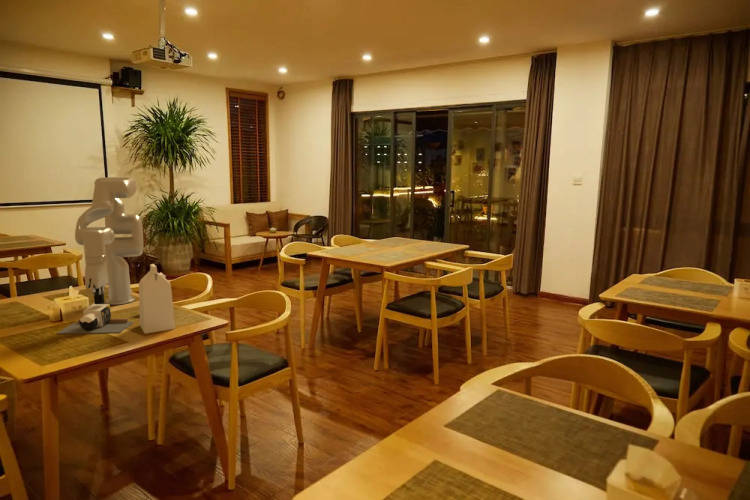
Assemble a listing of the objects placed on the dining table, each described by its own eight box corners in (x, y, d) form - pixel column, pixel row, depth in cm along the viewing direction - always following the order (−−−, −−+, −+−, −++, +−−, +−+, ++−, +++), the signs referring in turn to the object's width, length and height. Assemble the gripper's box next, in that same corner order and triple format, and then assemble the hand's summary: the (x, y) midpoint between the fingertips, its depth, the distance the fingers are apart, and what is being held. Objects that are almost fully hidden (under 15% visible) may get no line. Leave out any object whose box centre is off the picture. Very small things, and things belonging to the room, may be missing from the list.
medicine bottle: (112, 319, 208) (96, 332, 196) (95, 318, 208) (78, 332, 196) (109, 303, 205) (93, 316, 194) (92, 303, 205) (75, 315, 194)
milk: (140, 325, 205) (135, 264, 200) (169, 320, 211) (165, 261, 207) (144, 333, 195) (140, 269, 191) (175, 328, 201) (171, 266, 197)
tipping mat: (74, 323, 206) (74, 319, 206) (133, 322, 208) (133, 318, 208) (56, 334, 193) (56, 329, 193) (119, 333, 195) (119, 328, 195)
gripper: (95, 256, 207) (99, 299, 210) (76, 263, 193) (80, 308, 196) (113, 256, 208) (117, 298, 211) (96, 263, 193) (100, 308, 196)
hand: (99, 303), depth 203 cm, fingers closed
